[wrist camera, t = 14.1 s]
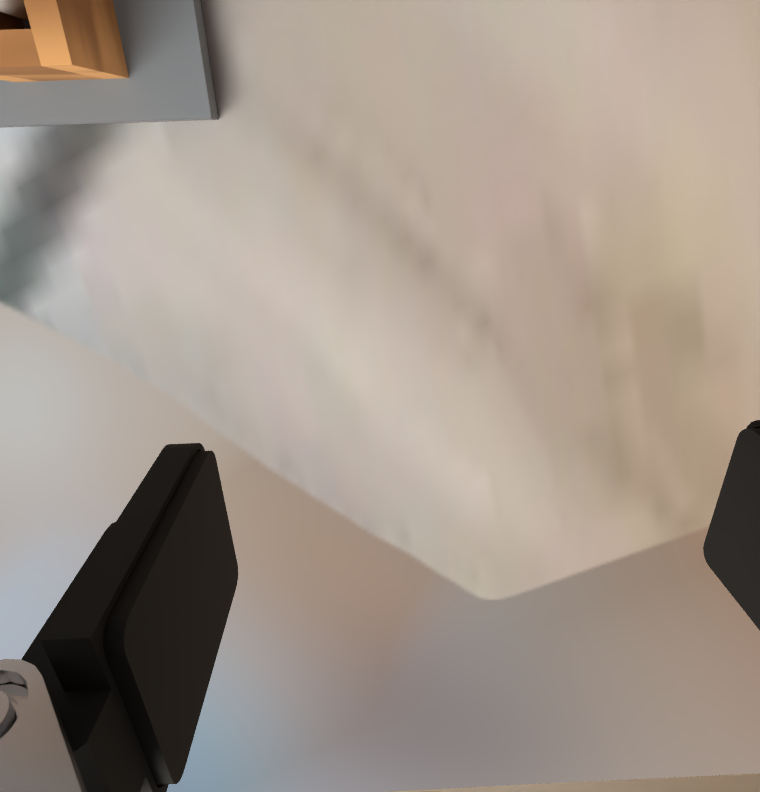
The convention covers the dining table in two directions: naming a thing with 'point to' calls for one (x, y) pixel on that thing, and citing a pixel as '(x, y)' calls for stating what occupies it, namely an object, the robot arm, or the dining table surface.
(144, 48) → the rod stand
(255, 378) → the dining table surface
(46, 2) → the cube
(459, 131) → the dining table surface
